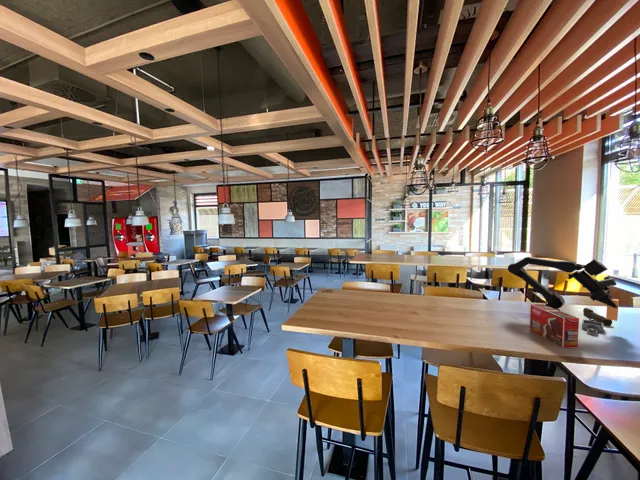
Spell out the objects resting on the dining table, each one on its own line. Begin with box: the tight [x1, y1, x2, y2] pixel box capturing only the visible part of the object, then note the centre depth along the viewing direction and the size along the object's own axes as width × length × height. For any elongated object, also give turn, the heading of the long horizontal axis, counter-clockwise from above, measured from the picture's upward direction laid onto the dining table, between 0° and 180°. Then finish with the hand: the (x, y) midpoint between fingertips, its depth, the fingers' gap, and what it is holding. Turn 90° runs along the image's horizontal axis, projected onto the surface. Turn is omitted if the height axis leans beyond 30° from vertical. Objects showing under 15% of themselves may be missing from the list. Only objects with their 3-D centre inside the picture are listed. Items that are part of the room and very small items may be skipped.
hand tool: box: [582, 307, 613, 327], centre depth 150 cm, size 19×4×5 cm, turn 162°
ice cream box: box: [529, 303, 580, 348], centre depth 127 cm, size 20×6×13 cm, turn 176°
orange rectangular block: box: [605, 298, 620, 322], centre depth 132 cm, size 4×4×10 cm
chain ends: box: [581, 318, 604, 337], centre depth 137 cm, size 22×8×3 cm, turn 134°
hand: (616, 306), depth 131 cm, fingers closed on orange rectangular block, 4 cm apart
